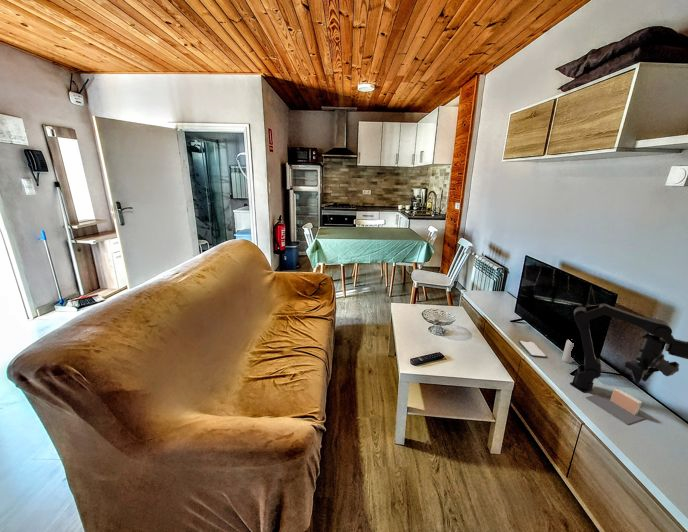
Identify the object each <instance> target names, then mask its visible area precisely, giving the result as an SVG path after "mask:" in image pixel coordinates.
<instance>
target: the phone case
mask: <svg viewBox="0 0 688 532" xmlns="http://www.w3.org/2000/svg"><path fill="white" fill-rule="evenodd" d="M518 344H519V346H521V347H522V349H524V351H525V352H526V353H527V354H528V355H529V357H532V358H541V359H546V358H547V357H548V356H547V354H546V353H544V352H543V350H541V348H539V346H537V343H535V342H534V341H528V340H519V341H518Z"/></svg>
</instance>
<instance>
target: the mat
mask: <svg viewBox="0 0 688 532" xmlns="http://www.w3.org/2000/svg"><path fill="white" fill-rule="evenodd" d="M585 399H587V401H589V402H590V403H593V404H594V405H596V406H597V407H599V408H600V409H602V410H603V411H605V412H606V413H608V414H610V415H612V416H613V417H614V418H616V419H618V420H619V421H620V422H623V424H625V425H631V424H634V423H637V422H640V421H643V420H645V419H647V417H645V416H644V415H642V414H641V413H639V412H638V414H636V415H634V414H632V413H630V412H629V411H627V410H625V409H624V408H622V407H620V406H619V405H617V404H616V403H614V402H612V401H611V400H610V399H611V396H610V395H608V394H607V393H605V392H600V393H597V394H593V395H589V396H586V397H585Z"/></svg>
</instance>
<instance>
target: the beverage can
mask: <svg viewBox="0 0 688 532" xmlns="http://www.w3.org/2000/svg"><path fill="white" fill-rule="evenodd" d="M573 347H574V343H572V342H571V341H570V340H569V338H568V339H566V342H565V345H564V349H563V352H562V353H563V354H562V357H561V360H562V361H563V362H564V363H567V364H572V363H573V361H574V358H572V357H571V351H572V349H573Z"/></svg>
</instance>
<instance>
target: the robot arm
mask: <svg viewBox="0 0 688 532" xmlns="http://www.w3.org/2000/svg"><path fill="white" fill-rule="evenodd" d="M603 316H608V317H611V318H614V319H617V320H619V321H621V322H625V323H627V324H630V325H633V326H636V327H638V328H641V329H642V330H643V331H645V332H641V333H640V337H641V338H643V339H645V341H644V343H643V346H642V348H639V353H640V354H639V356H638V357H636V358H635V359H636V360H628V361H626V362H625V363H624V364H623V366H624V368H626V369H628V370H631V372H632V375H633V378H634V382H635V383H637V384H640V383H641V382H642V381H643V382H646V381H648V379H649V378H650V377H652V375H653V374H654V373H656V372H657V373H658V372H661V373H662V375H664V376H665V377H670V376H673V375H674V374H676V373H678V372H679V371H680V368H679V367H680V363H678V362H677V361H669V360H666V359H665V354H664V353H663V352H664V351H665V352H667V354H668V355H670V356H674V357H677V358H681V359H684V360H688V341H685V340H681V339H677V338H675V337H674V336H673V330H672V329H673V328H671V326H670V325H669V323H668V322H667V321H665V320H662V319H658V318H653V317H644V316H641V315H638V314H635V313H632V312H630V311H626V310H623V309H620V308H618V307H614V306H611V305H609V304H607V303H600V304H595V305H588V306H585V307H584V306H578V307H576V308H575V309H574V311H573V319H574V321H575V323H576V326H577V327H578V330H579V334H580V339H581V344H582V345H581V346H582V349H583V356H584V361H583V362H584V363H582V364H580V365H578V366H577V371H576V372H574V377H573V378H572V382H570V383H569V384H570V386H572V387H574V388H576V389H577V390H579V391H580V392H582V393H587V392H590V391H591V392H592V391H593V389H594V388H593V386H594V380H595V379H599V378H600V377H601V375H602V374H603V367H602V363H601V358H597V357H596V355H595V350H594V346H593V345H594V343H593V339H592V336H591V335H592V334H591V327H590V325H591V324H590V323H591V320H594V319H597V318H600V317H603ZM664 349H665V350H664Z"/></svg>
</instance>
